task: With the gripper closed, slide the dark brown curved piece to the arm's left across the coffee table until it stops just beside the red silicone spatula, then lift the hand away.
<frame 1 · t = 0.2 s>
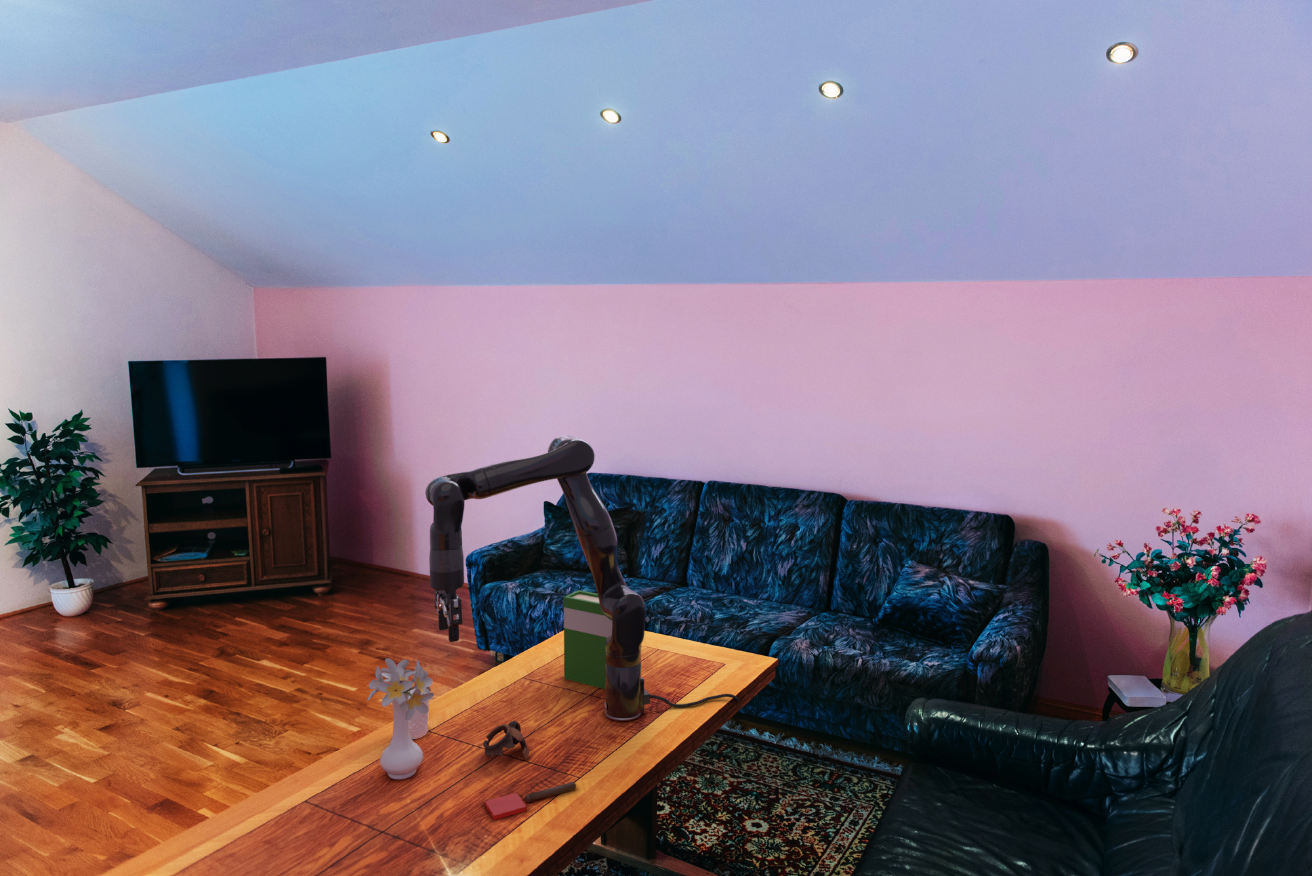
hand: (448, 635, 191), 29 cm above the table, tool pointing down, fingers open, 8 cm apart
dark brown curved piece: (508, 755, 195), on the table
white cup: (413, 734, 205), on the table
hardback book: (597, 681, 237), on the table
flower vase: (405, 773, 187), on the table
spatula: (528, 801, 176), on the table
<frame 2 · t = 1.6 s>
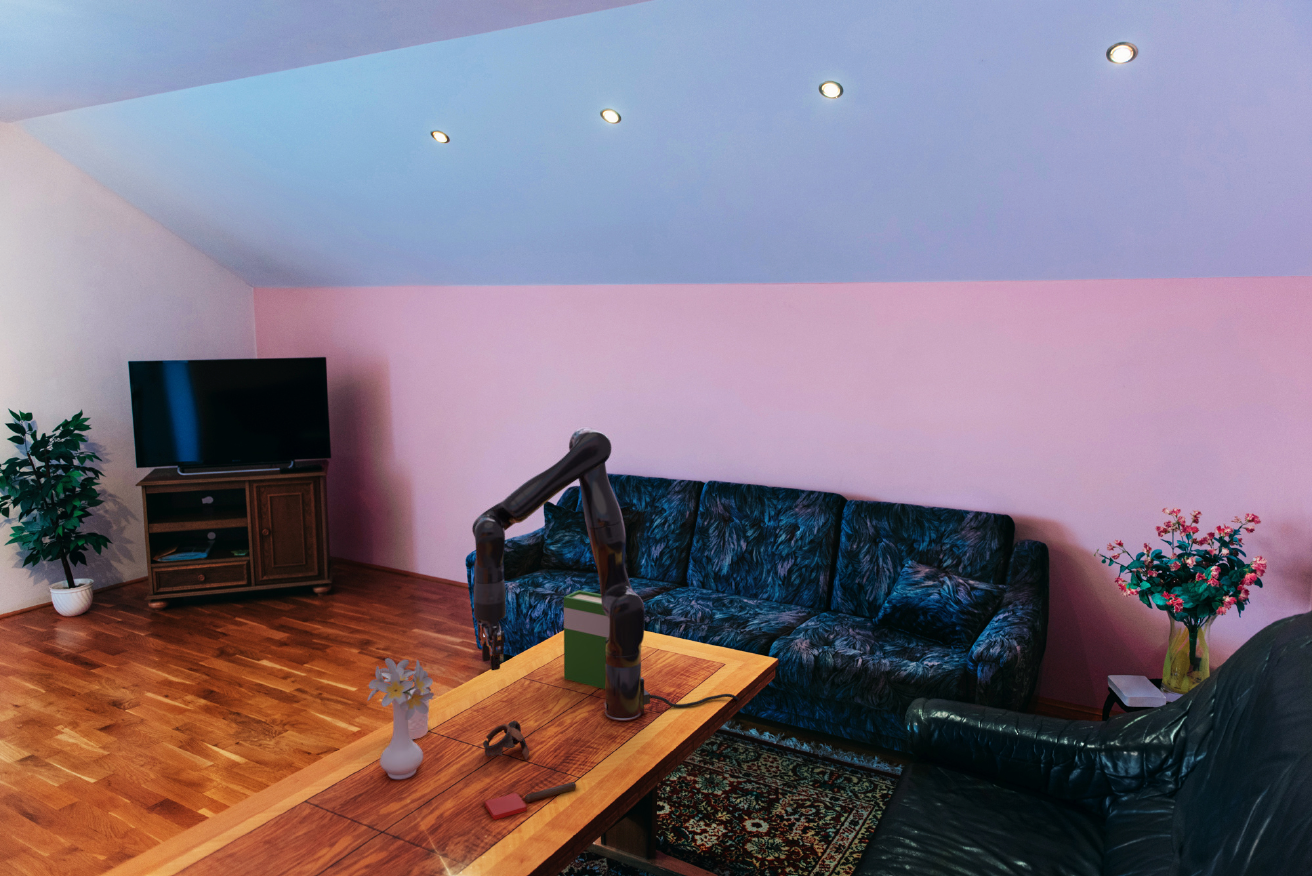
hand: (491, 664, 203), 18 cm above the table, tool pointing down, fingers open, 5 cm apart
nothing on the table moved.
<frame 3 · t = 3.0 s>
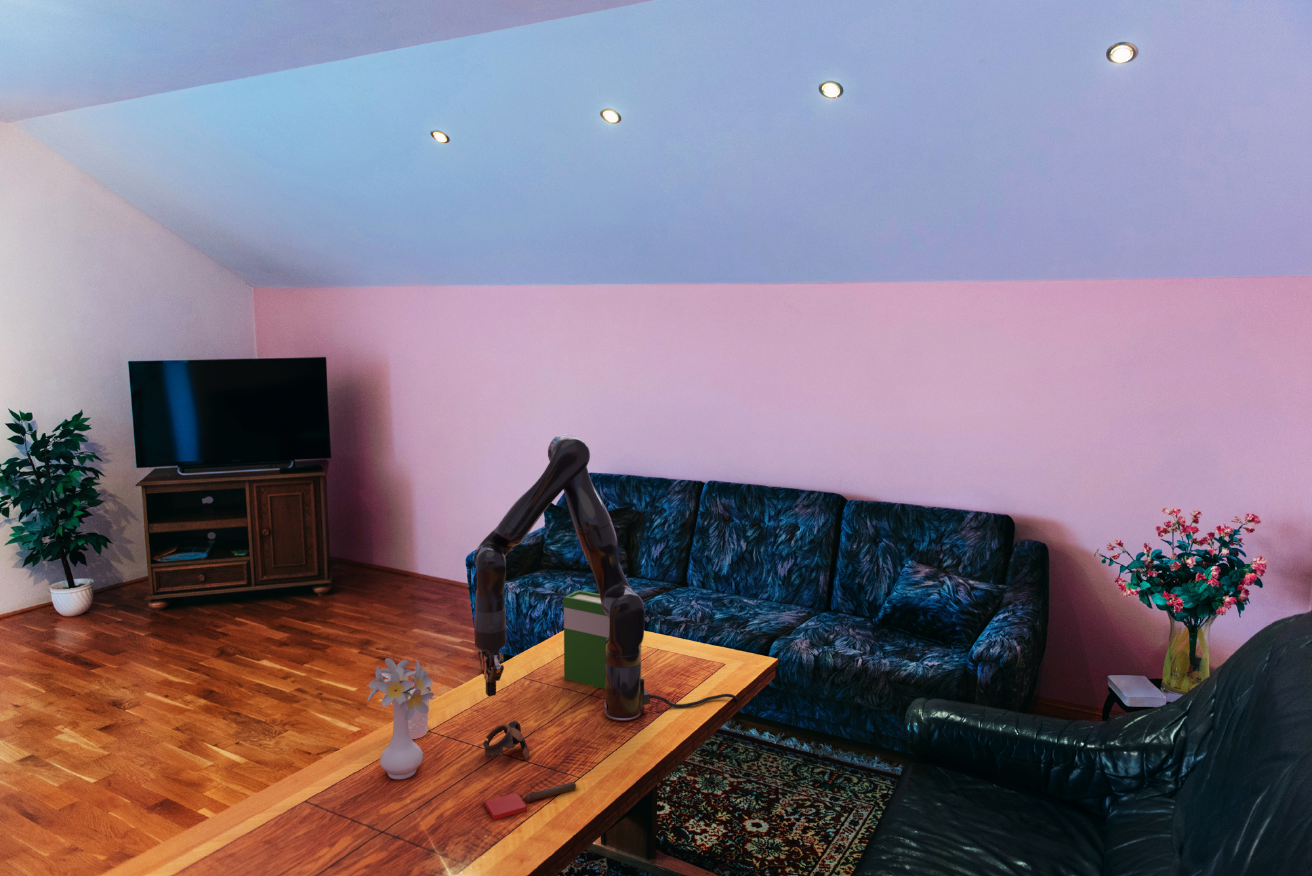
hand: (490, 694, 204), 10 cm above the table, tool pointing down, fingers closed
nothing on the table moved.
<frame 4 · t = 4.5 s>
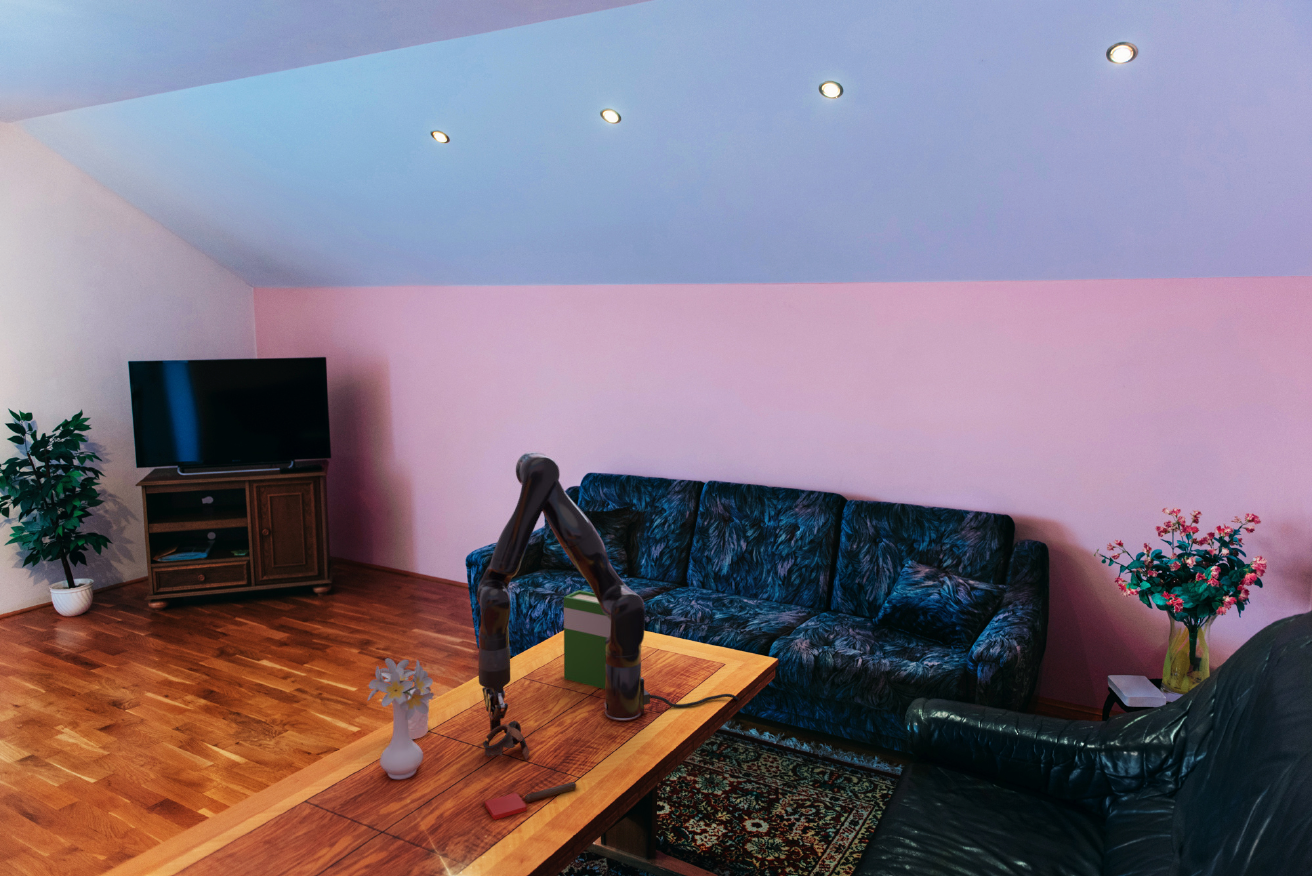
hand: (495, 731, 203), 1 cm above the table, tool pointing down, fingers closed
nothing on the table moved.
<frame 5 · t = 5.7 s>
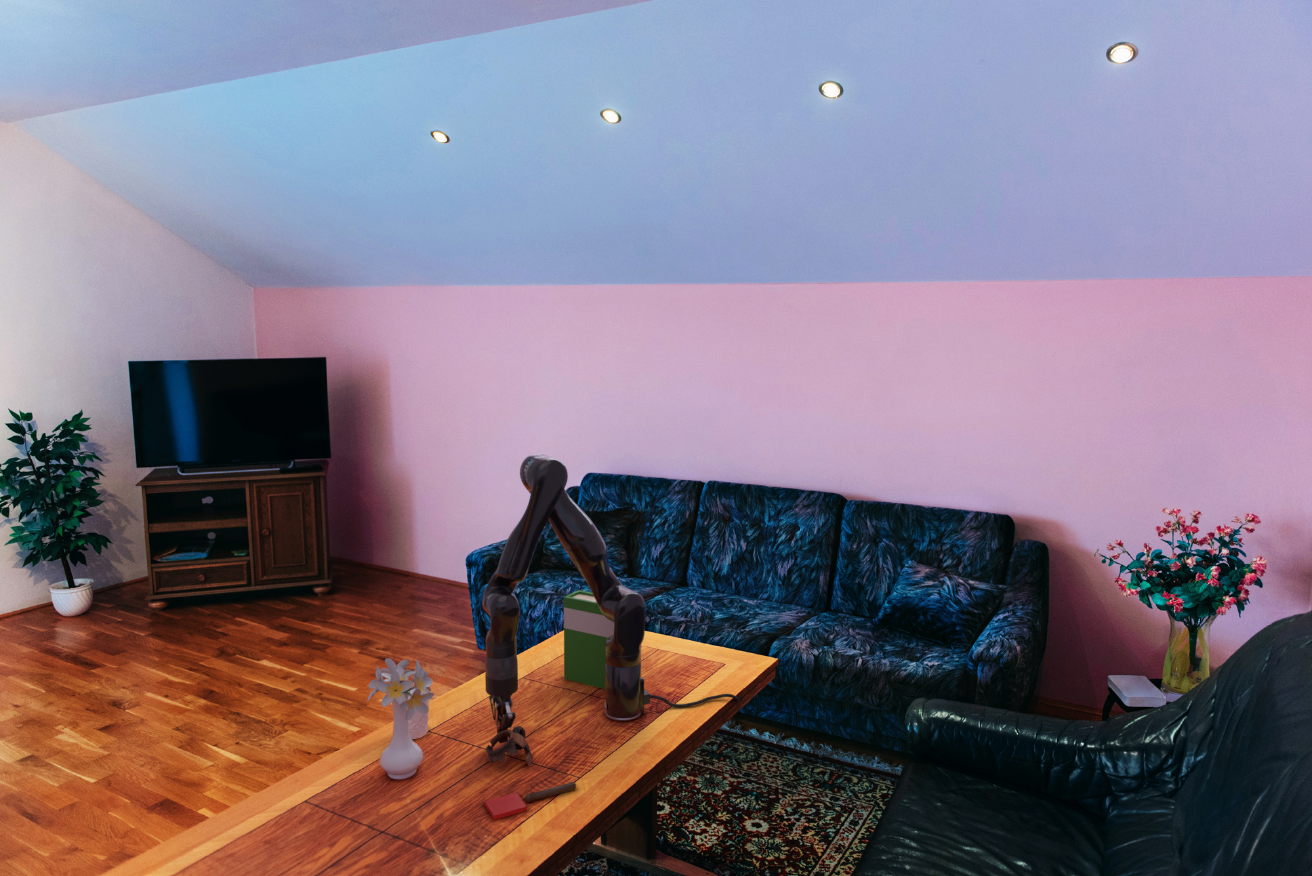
hand: (502, 741, 199), 1 cm above the table, tool pointing down, fingers closed
dark brown curved piece: (512, 760, 193), on the table, touching gripper, hand
everything else where it was.
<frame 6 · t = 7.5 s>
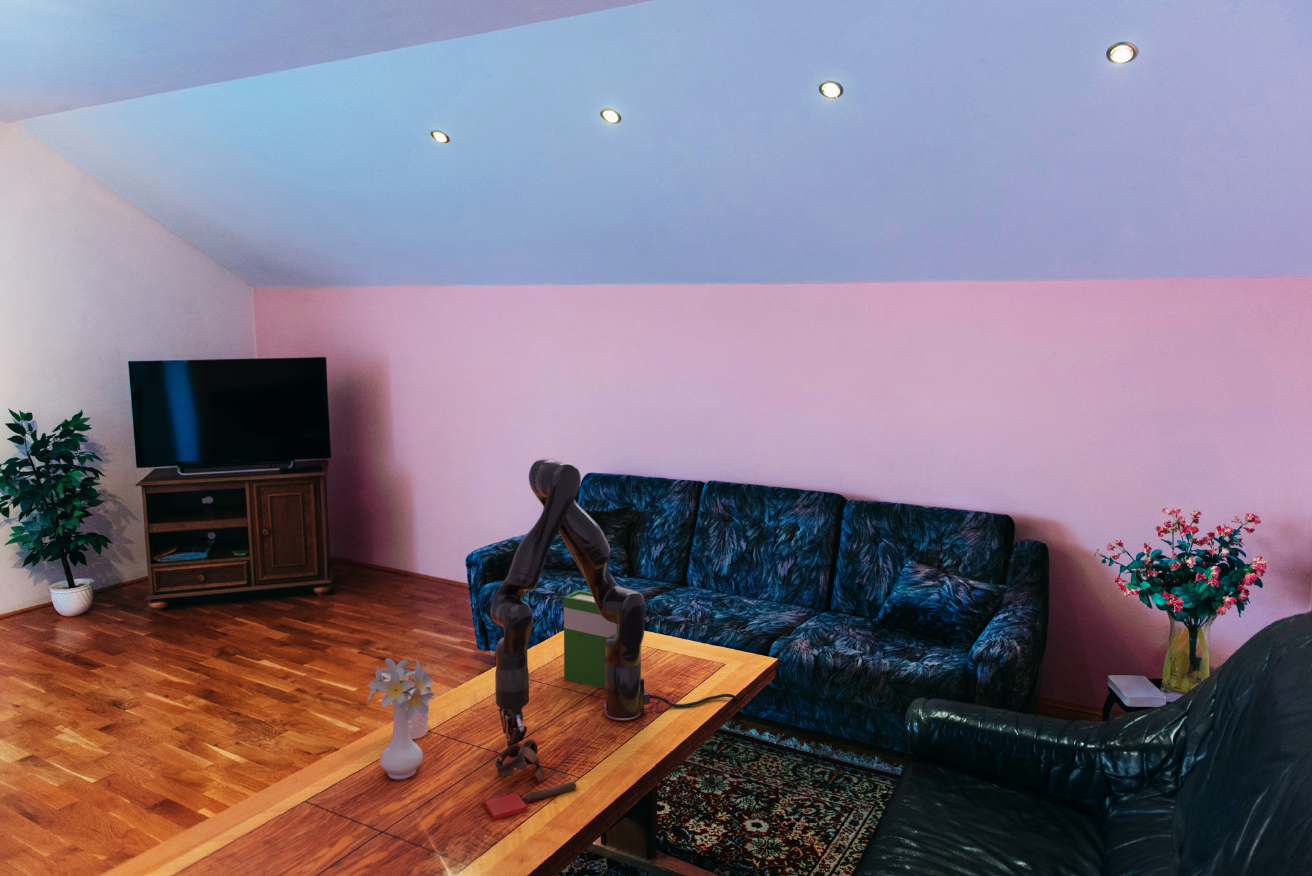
hand: (513, 755, 192), 1 cm above the table, tool pointing down, fingers closed
dark brown curved piece: (522, 776, 186), on the table, touching gripper, hand
everything else where it was.
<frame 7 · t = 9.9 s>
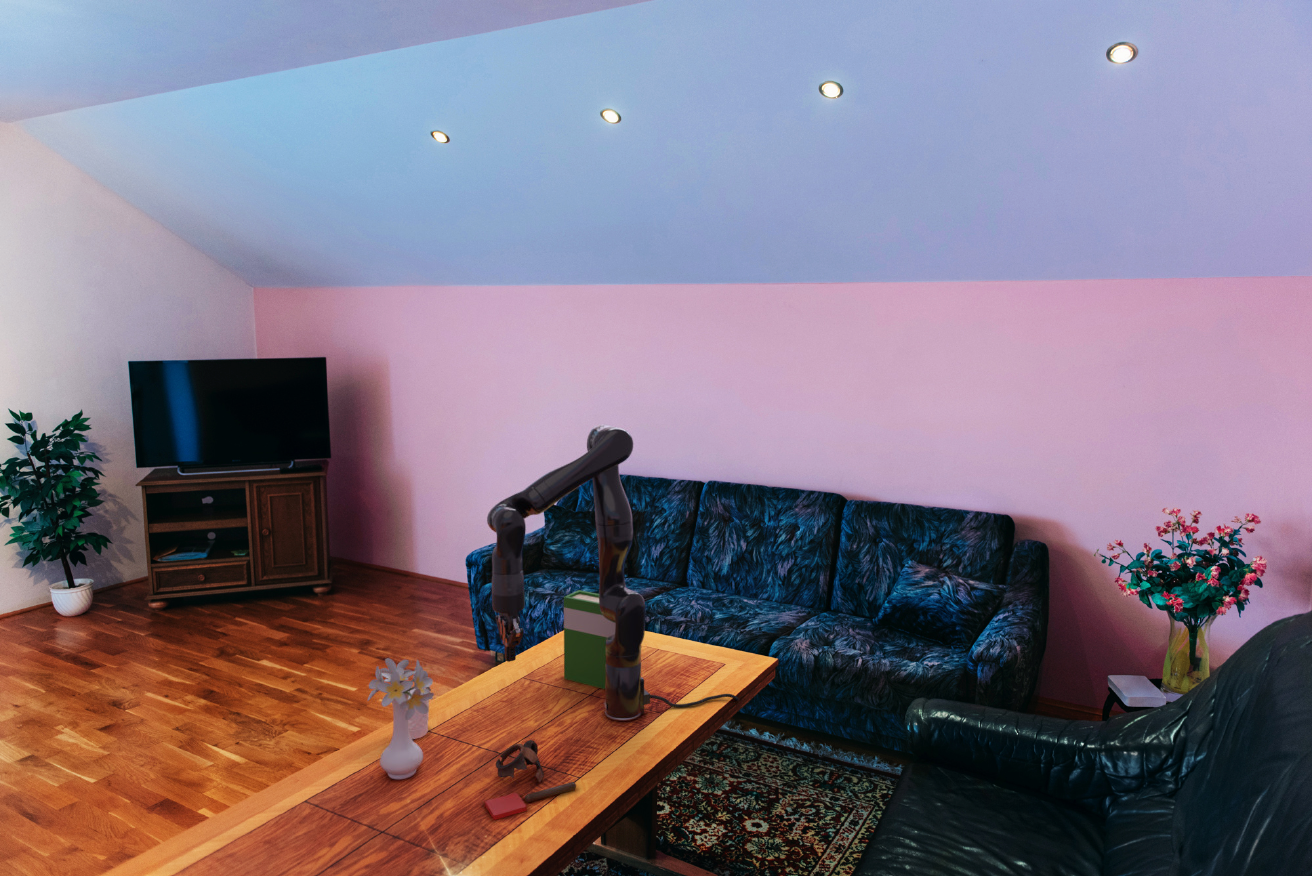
hand: (510, 660, 198), 21 cm above the table, tool pointing down, fingers closed
dark brown curved piece: (523, 776, 186), on the table
everything else where it was.
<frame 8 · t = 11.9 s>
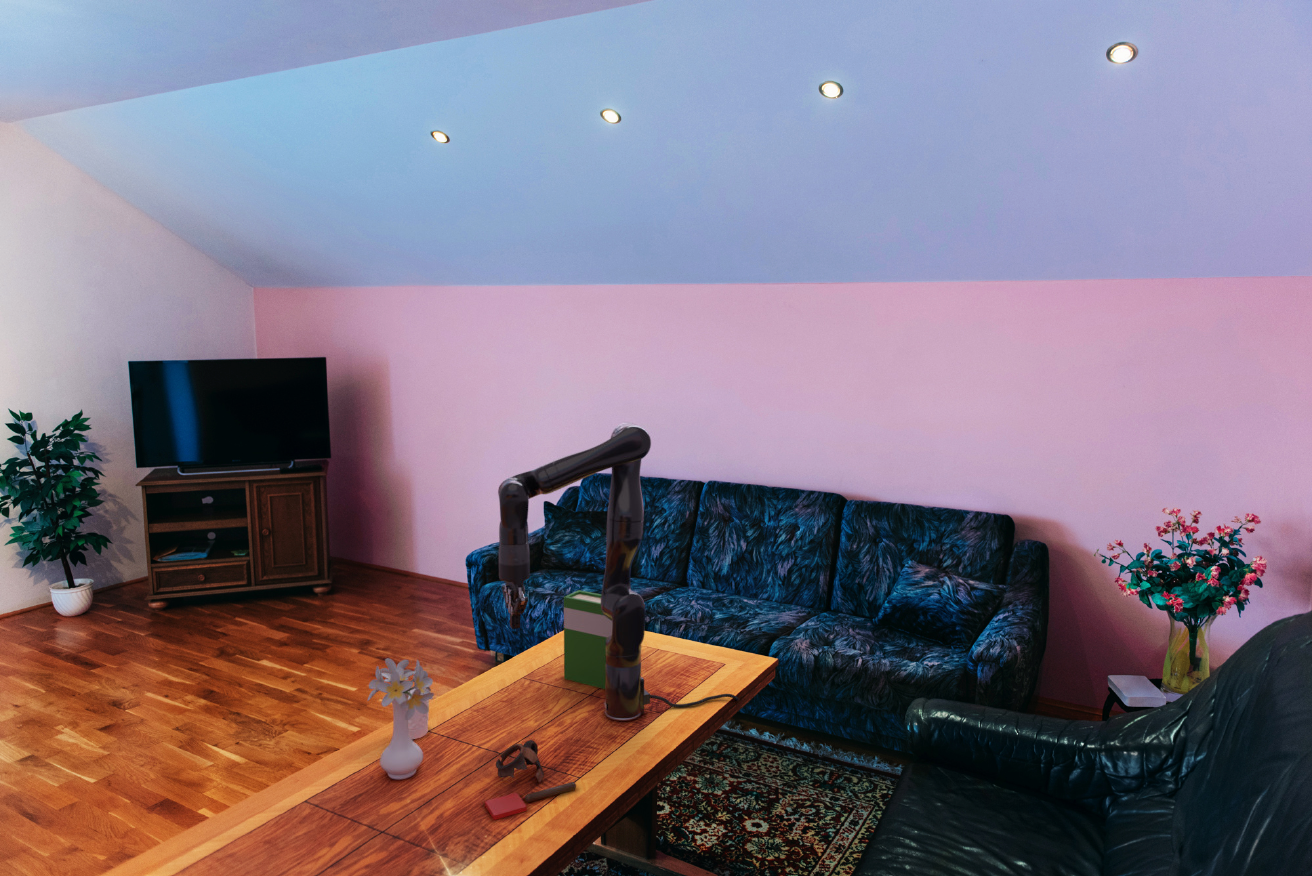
hand: (515, 627, 208), 25 cm above the table, tool pointing down, fingers closed
nothing on the table moved.
at the end: dark brown curved piece inside the target area (1.0 cm from its centre), on the table; dark brown curved piece moved 10.5 cm from its start; dark brown curved piece tilted 0° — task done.
